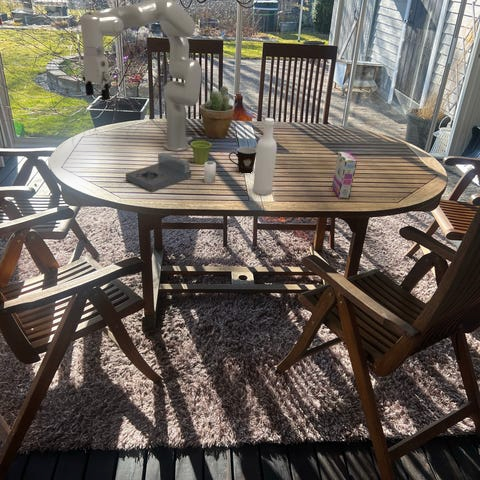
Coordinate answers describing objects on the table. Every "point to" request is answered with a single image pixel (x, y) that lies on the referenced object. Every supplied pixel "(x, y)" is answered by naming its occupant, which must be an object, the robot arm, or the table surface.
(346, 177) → the candy bar box
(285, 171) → the table surface
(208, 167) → the bushing
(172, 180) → the jig
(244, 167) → the coffee mug
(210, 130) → the potted plant
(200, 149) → the plant pot
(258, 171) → the bottle
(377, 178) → the table surface
